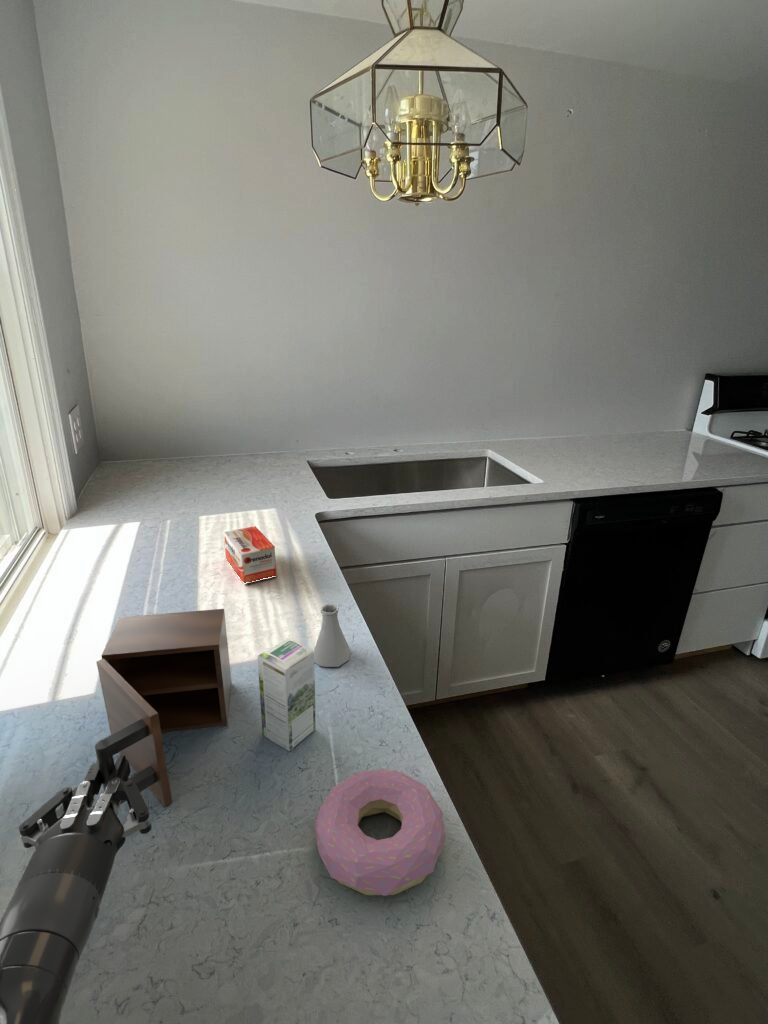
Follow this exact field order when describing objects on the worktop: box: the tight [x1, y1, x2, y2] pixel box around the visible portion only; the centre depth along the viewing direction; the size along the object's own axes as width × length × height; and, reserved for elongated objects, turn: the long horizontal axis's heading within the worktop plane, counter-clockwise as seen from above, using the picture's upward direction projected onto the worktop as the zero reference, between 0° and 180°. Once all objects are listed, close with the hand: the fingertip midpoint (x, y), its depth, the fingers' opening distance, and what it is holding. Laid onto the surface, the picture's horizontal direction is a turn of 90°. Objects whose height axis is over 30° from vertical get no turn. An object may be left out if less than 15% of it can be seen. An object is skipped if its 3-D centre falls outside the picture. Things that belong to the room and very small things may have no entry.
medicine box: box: [223, 525, 277, 583], centre depth 132 cm, size 15×8×8 cm, turn 30°
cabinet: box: [101, 608, 233, 734], centre depth 85 cm, size 10×16×15 cm, turn 101°
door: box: [94, 658, 173, 808], centre depth 71 cm, size 7×16×14 cm, turn 47°
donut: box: [313, 768, 446, 897], centre depth 66 cm, size 16×15×5 cm
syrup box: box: [257, 637, 317, 752], centre depth 80 cm, size 6×6×14 cm
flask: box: [312, 603, 351, 668], centre depth 99 cm, size 7×7×10 cm
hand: (112, 762), depth 67 cm, fingers closed on door
